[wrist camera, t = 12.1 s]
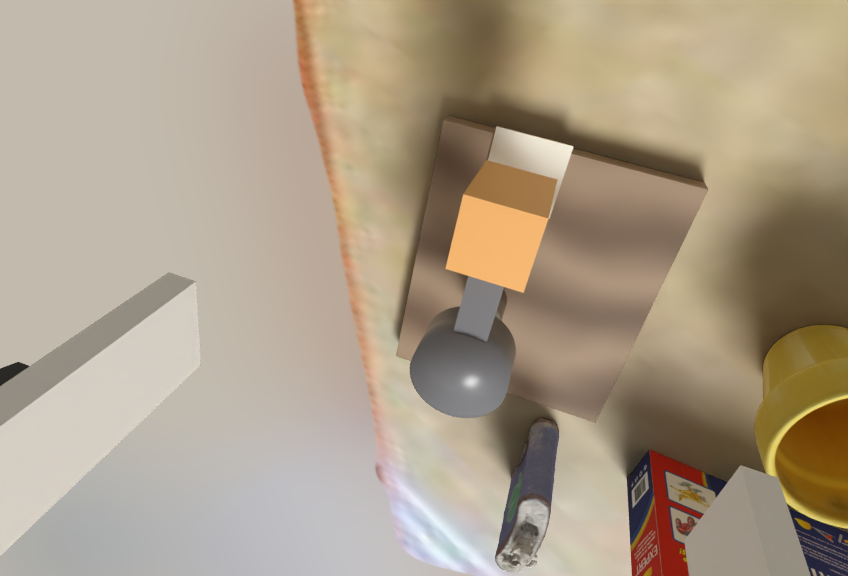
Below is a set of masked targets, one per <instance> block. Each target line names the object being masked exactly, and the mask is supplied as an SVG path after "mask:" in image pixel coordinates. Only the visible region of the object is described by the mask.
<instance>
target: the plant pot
mask: <svg viewBox="0 0 848 576" xmlns="http://www.w3.org/2000/svg"><path fill="white" fill-rule="evenodd" d="M754 429H755V438H756V443H757V447H758V450H759V454H760V457H761V460H762V464H763V467H764V470H765V472H766V474H768V475H771V476H774V477H777V478H778V479H779V482H780V485H781V488H782V491H783V494H784V497H785V500H786V503H787V504H788V505H790V506H791V507H792V508H794V509H795V510H797V511H799V512H800V513H802V514H804V515H806V516H808V517H810V518H812V519H815V520H817V521H820V522H823V523H826V524H829V525H833V526H836V527H841V528H847V529H848V328H845V327H841V326H835V325H812V326H807V327H803V328H800V329H797V330H794V331H792V332H790V333H788V334H786V335H785V336H783V337H782V338H781V339H779V340H778V341H777V342H776V343H775V344H774V345H773V346H772V347H771V349H770V350H769V351H768V353H767V355H766V357H765V360H764V364H763V402H762V403H761V405H760V407H759V409H758V412H757V415H756V419H755V428H754Z"/></svg>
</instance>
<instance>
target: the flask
mask: <svg viewBox="0 0 848 576" xmlns="http://www.w3.org/2000/svg"><path fill="white" fill-rule="evenodd" d="M549 421H550V422H549ZM551 422H552V423H553V424H552V423H551ZM529 432H530V434H529V438H528V440H527V442H525V445H524V446H523V449H522V451H523V458H522V459H519V466H518V467H516V468H515V471H514V472H513V475H512V476H511V478H512V479H511V484H510V489H509V494H508V499H507V504H506V508H505V511H504V519H503V524H502V529H501V533H500V539H499V544H498V548H497V551H496V556H495V561H496V563H497V565H498V566H499V567H500V568H501V569H502V570H506V571H508V572H512V573H513V572H518V571H520V570H522V569H523V568H524V566H525V565H526V564H527V563H528V562H529V561H530V560H531V559H532V558H533V556H534V555H535V554H536V553H537V551H538V549H539V548H540V546H541V543H542V541H543V539H544V537H545V534H546V530H547V527H548V524H549V518H550V513H551V501H552V491H553V483H554V472H555V461H556V453H557V446H558V440H559V430H558V428H557V424H555V423H554V422H553V421H551V420H547V419H546V420H545V419H543V418H540V419H538V420H537V421H535V422H534V423H533V424H532V427H531V428H530V430H529ZM535 559H537V555H535ZM536 564H537V561H533V560H531V562H530V563H529V564H528V565H526V567H528V568H532V567H534V566H535V565H536Z"/></svg>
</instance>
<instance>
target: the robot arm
mask: <svg viewBox="0 0 848 576" xmlns="http://www.w3.org/2000/svg"><path fill="white" fill-rule="evenodd" d="M199 366H200V347H199V330H198V312H197V294H196V281H193V280H189V279H187V278H184V277H181V276H178V275H175V274H172V273H167V274H166V275H164V276H163V277H161V278H160V279H158V280H157V281H155V282H154V283H153V284H151V285H149V286H148V287H147V288H145V289H144V290H142V291H141V292H139V293H138V294H136V295H135V296H133V297H132V298H130V299H129V300H127V301H126V302H124V303H123V304H121V305H120V306H118V307H117V308H115V309H114V310H112V311H111V312H109V313H108V314H107V315H105V316H104V317H102V318H101V319H99V320H98V321H96V322H95V323H93V324H92V325H90V326H89V327H87V328H86V329H84V330H83V331H81V332H80V333H79V334H77V335H75V336H74V337H73V338H71V339H69V340H68V341H67V342H65V343H64V344H62V345H61V346H59V347H58V348H56V349H55V350H53V351H52V352H50V353H49V354H47V355H46V356H44V357H43V358H41V359H40V360H38V361H37V362H36V363H34V364H32V365H31V366H28V365H25V364H22V363H20V362H17V363H14V364H11V365H9V366H6V367H3V368H1V369H0V556H1V555H2V554H3V553H4V552H5V551H6V550H7V549H8V548H9V547H10V546H11V545H12V544H13V543H14V542H15V541H16V540H17V539H18V538H20V536H22V535H23V534H24V533H25V532H26V531H27V530H28V529H29V528H30V527H31V526H32V525H33V524H34V523H35V522H36V521H37V520H38V519H39V518H40V517H42V516H43V515H44V514H45V513H46V512H47V511H48V510H49V509H50V508H51V507H52V506H53V505H54V504H55V503H56V502H57V501H58V500H59V499H60V498H61V497H63V496H64V495H65V493H67V492H68V491H69V490H70V489H71V488H72V487H73V486H74V485H75V484H76V483H77V482H78V481H79V480H80V479H81V478H82V477H84V475H86V474H87V473H88V472H89V470H91V469H92V468H93V467H94V466H95V465H96V464H97V463H98V462H99V461H100V460H101V459H102V458H103V457H104V456H106V455H107V454H108V453H109V452H110V451H111V450H112V449H113V448H114V447H115V446H116V445H117V444H118V443H119V442H120V441H121V440H122V439H123V438H124V437H125V436H126V435H127V434H129V433H130V432H131V431H132V430H133V429H134V428H135V427H136V426H137V425H138V424H139V423H140V422H141V421H142V420H143V419H144V418H145V417H146V416H148V415H149V413H151V412H152V411H153V410H154V409H155V408H156V407H157V406H158V405H159V404H160V403H161V402H162V401H163V400H164V399H165V398H166V397H167V396H168V395H169V394H171V393H172V392H173V391H174V390H175V389H176V388H177V387H178V386H179V385H180V384H181V383H182V382H183V381H184V380H185V379H186V378H187V377H188V376H189V375H190V374H191V373H193V372H194V371H195V370H196V369H197V368H198V367H199ZM684 541H685V549H686V557H687V564H688V572H689V576H811V575H810V572H809V569H808V566H807V563H806V560H805V557H804V554H803V551H802V548H801V545H800V542H799V539H798V536H797V533H796V530H795V527H794V524H793V521H792V518H791V515H790V512H789V509H788V506H787V503H786V500H785V497H784V494H783V491H782V488H781V485H780V482H779V479H778V478H777V477H774V476H771V475H768V474H765V473H762V472H759V471H756V470H753V469H751V468H748V467H745V466H742V465H740V466H739V468H738V469H737V471H736V472H735V473H734V475H733V476H732V477H731V479H730V480H729V481H728V483H727V484H726V485H725V487H724V488H723V489H722V491H721V492H720V493H719V495H718V496H717V497H716V499H715V500H714V501H713V503H712V504H711V505H710V507H709V508H708V509H707V511H706V512H705V513H704V515H703V516H702V518H701V519H700V520H699V522H698V523H697V524H696V526H695V527H694V528H693V530H692V531H691V532H690V534H689V535H688V536H687V538H686V539H685V540H684Z"/></svg>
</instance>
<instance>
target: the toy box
mask: <svg viewBox="0 0 848 576" xmlns="http://www.w3.org/2000/svg"><path fill="white" fill-rule="evenodd" d="M727 483H728V482H725V481H723V480H721V479H718V478H716V477H713V476H711V475H709V474H706V473H704V472H702V471H699V470H697V469H694V468H692V467H690V466H687V465H685V464H683V463H680V462H678V461H675V460H673V459H671V458H668V457H666V456H663V455H661V454H659V453H656V452H654V451H652V450H649V451H648V452H647V453H646V455H645V456H644V457H643V459H642V460H641V461H640V463H639V464H638V465H637V467H636V468H635V469H634V470H633V472H632V473H631V474H630V476H629V477H628V478H627V488H628V507H629V526H630V545H631V565H632V576H689V572H688V564H687V557H686V549H685V541H684V540H685V539H686V538H687V536H688V535H689V534H690V532H691V531H692V530H693V528H694V527H695V526H696V524H697V523H698V522H699V520H700V519H701V518H702V516H703V515H704V513H705V512H706V511H707V509H708V508H709V507H710V505H711V504H712V503H713V501H714V500H715V499H716V497H717V496H718V495H719V493H720V492H721V491H722V489H723V488H724V487H725V485H726V484H727ZM788 509H789V508H788ZM789 512H790V515H791V518H792V521H793V524H794V527H795V530H796V533H797V536H798V539H799V542H800V545H801V548H802V551H803V554H804V557H805V560H806V563H807V566H808V569H809V572H810V575H811V576H848V533H847V532H844V531H842V530H839V529H837V528H835V527H832V526H830V525H828V524H825V523H823V522H820V521H817V520H815V519H812V518H810V517H808V516H806V515H804V514H801V513H799V512H797V511H794V510H792V509H789Z"/></svg>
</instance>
